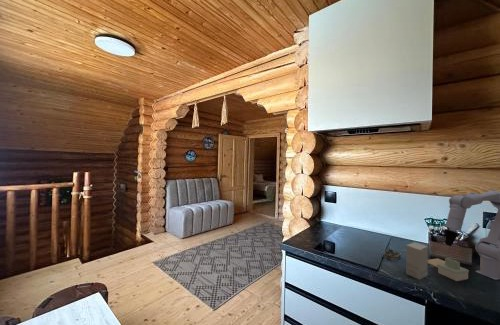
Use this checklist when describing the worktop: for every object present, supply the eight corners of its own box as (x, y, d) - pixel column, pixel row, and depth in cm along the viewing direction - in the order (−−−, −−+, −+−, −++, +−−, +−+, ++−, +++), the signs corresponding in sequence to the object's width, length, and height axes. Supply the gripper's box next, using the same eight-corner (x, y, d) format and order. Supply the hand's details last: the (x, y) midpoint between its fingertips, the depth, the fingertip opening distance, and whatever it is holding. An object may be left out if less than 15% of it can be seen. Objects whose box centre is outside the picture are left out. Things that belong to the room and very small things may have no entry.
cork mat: (437, 259, 126) (437, 258, 126) (459, 268, 115) (459, 267, 115) (423, 261, 123) (423, 260, 123) (444, 271, 112) (444, 270, 112)
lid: (448, 265, 113) (448, 255, 113) (468, 273, 104) (468, 263, 104) (436, 267, 111) (436, 257, 111) (456, 276, 102) (456, 265, 102)
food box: (449, 271, 112) (449, 264, 112) (468, 279, 105) (468, 271, 105) (438, 273, 110) (438, 266, 110) (456, 282, 103) (456, 274, 103)
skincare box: (414, 270, 113) (414, 241, 113) (428, 276, 107) (429, 246, 107) (405, 274, 109) (405, 244, 109) (420, 280, 104) (420, 249, 103)
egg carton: (389, 253, 134) (389, 247, 134) (402, 258, 128) (402, 251, 128) (381, 257, 128) (381, 251, 128) (394, 262, 122) (394, 255, 122)
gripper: (444, 216, 114) (438, 240, 113) (444, 215, 103) (437, 241, 103) (463, 221, 109) (455, 246, 108) (464, 220, 98) (456, 248, 98)
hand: (448, 244), depth 105 cm, fingers open, 7 cm apart
